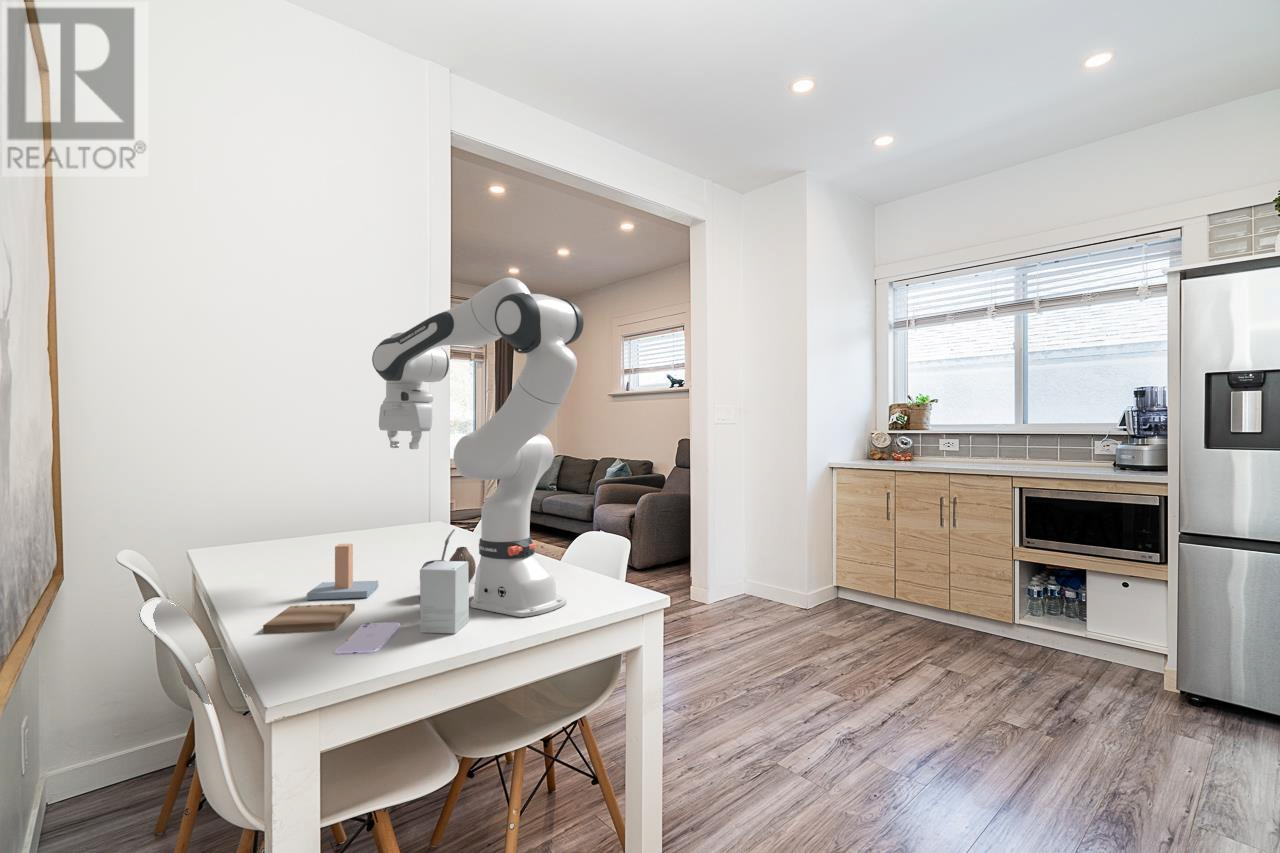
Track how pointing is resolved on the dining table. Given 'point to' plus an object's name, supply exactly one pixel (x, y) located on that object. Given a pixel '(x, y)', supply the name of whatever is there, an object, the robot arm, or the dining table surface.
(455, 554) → the vase
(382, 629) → the mobile phone
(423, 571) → the supplement box
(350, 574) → the stub
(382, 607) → the dining table surface
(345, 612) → the board
